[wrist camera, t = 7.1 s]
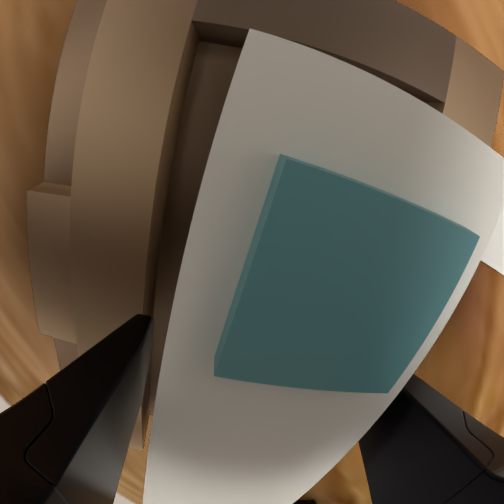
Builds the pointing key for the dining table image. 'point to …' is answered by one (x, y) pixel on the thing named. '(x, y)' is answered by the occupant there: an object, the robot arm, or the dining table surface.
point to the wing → (496, 247)
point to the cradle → (188, 140)
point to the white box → (310, 274)
